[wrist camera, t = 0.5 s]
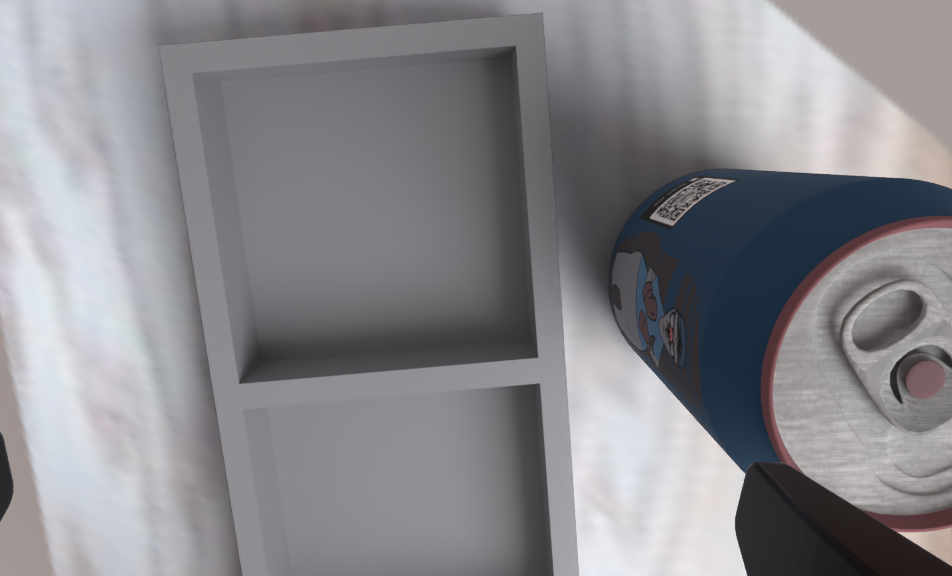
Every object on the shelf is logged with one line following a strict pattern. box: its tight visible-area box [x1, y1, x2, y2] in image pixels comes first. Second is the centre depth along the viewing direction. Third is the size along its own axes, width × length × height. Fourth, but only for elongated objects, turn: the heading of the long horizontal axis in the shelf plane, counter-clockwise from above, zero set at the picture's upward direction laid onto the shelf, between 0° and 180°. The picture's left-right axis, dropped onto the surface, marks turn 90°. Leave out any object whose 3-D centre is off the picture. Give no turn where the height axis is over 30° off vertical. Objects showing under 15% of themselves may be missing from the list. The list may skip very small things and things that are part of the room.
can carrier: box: [158, 13, 579, 576], centre depth 23 cm, size 20×11×3 cm, turn 5°
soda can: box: [608, 169, 952, 532], centre depth 18 cm, size 7×7×12 cm
